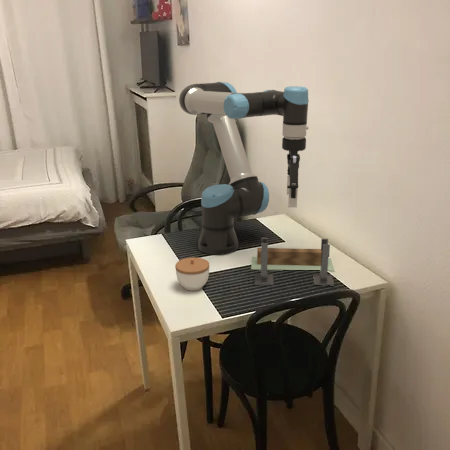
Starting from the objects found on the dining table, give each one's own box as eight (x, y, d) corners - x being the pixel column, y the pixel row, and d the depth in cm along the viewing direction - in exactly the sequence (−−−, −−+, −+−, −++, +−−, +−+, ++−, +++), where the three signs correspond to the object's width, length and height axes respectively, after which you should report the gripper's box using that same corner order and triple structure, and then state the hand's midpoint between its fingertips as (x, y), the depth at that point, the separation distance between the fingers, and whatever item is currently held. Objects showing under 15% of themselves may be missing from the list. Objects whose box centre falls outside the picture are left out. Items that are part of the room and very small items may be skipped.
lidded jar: (179, 296, 152) (178, 268, 149) (173, 281, 162) (172, 254, 158) (213, 291, 154) (212, 264, 151) (205, 276, 164) (204, 250, 161)
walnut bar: (257, 264, 172) (257, 251, 170) (257, 260, 174) (257, 247, 173) (327, 265, 170) (328, 252, 168) (326, 262, 172) (327, 249, 171)
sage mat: (251, 269, 169) (251, 268, 169) (252, 257, 178) (251, 256, 178) (334, 271, 166) (334, 270, 166) (330, 259, 176) (330, 258, 176)
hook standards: (254, 284, 158) (254, 244, 153) (255, 276, 164) (255, 237, 159) (333, 286, 156) (336, 245, 151) (331, 278, 162) (334, 238, 157)
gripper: (309, 145, 146) (305, 213, 153) (303, 130, 169) (300, 189, 176) (283, 145, 146) (281, 212, 154) (281, 129, 169) (279, 189, 177)
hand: (291, 200), depth 165 cm, fingers open, 13 cm apart
